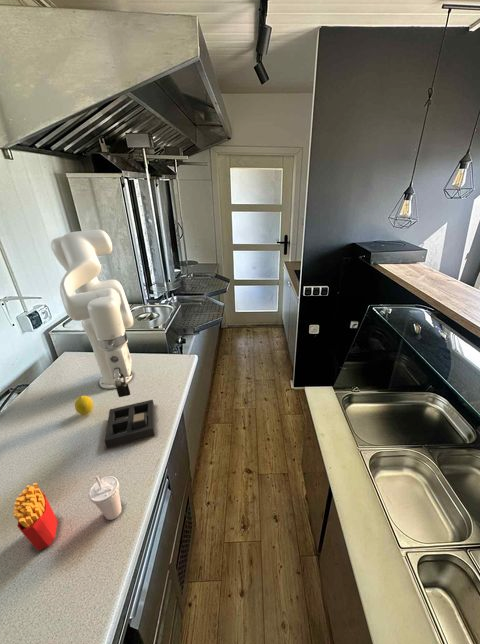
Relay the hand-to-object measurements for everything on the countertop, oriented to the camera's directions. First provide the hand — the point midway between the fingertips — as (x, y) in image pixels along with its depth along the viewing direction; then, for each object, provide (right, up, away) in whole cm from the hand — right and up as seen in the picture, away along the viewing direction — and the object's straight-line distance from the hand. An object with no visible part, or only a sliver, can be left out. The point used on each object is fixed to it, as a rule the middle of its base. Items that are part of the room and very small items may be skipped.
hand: (125, 385), depth 90 cm
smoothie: (+5, -28, -17) cm, 34 cm away
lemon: (-21, -14, +14) cm, 29 cm away
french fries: (-9, -31, -21) cm, 38 cm away
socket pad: (-2, -16, +8) cm, 18 cm away
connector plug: (+2, -17, +7) cm, 18 cm away
